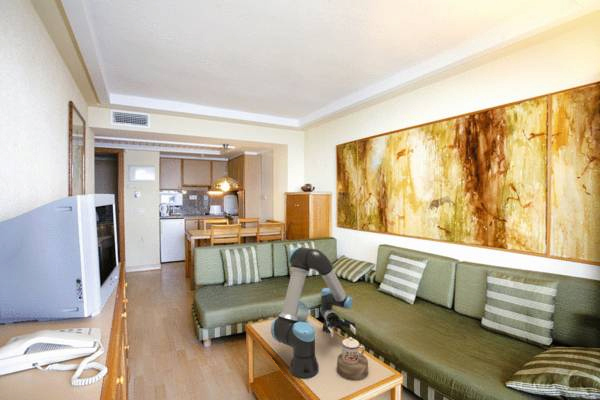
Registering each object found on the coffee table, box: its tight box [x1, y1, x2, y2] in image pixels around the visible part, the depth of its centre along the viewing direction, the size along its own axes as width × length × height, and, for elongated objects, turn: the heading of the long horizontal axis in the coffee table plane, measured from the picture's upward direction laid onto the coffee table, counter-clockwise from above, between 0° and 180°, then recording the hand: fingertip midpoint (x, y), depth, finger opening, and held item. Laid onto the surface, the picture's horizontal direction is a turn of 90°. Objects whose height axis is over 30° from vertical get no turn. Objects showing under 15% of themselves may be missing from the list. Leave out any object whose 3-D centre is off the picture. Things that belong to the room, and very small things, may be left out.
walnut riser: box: [336, 353, 369, 381], centre depth 152 cm, size 16×16×6 cm
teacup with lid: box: [341, 336, 366, 364], centre depth 151 cm, size 12×9×12 cm
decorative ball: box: [297, 301, 309, 322], centre depth 211 cm, size 15×15×15 cm
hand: (343, 333), depth 163 cm, fingers open, 13 cm apart
